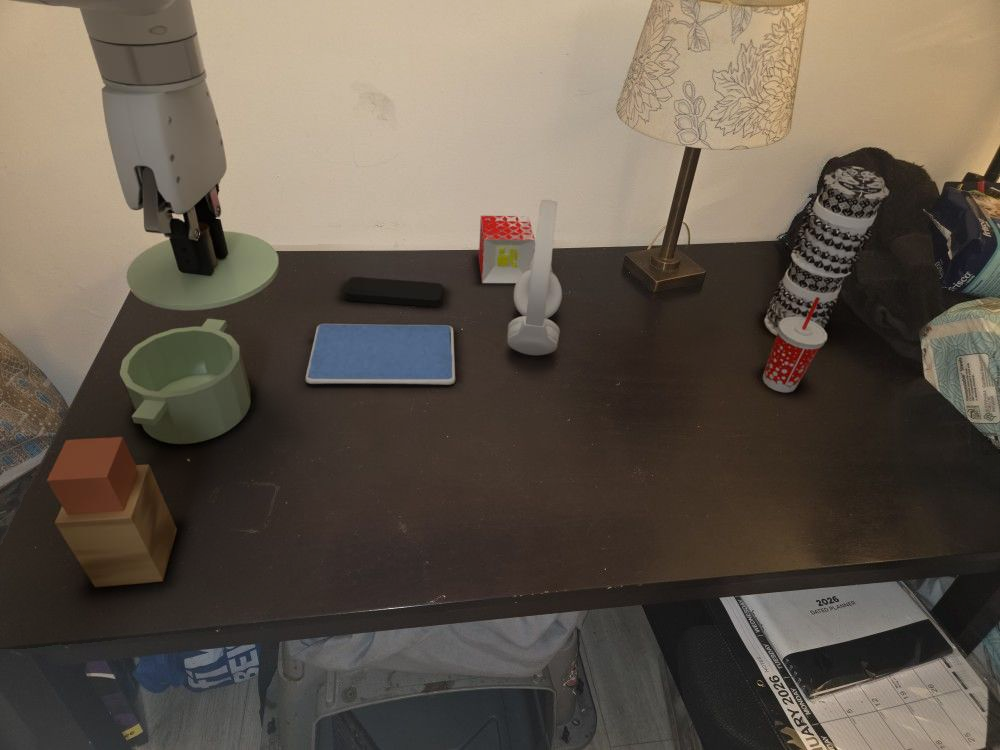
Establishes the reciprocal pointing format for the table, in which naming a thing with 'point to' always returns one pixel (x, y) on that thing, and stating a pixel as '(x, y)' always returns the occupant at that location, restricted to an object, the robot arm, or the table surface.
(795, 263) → the white patterned cylinder
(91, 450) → the block
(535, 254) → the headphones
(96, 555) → the block
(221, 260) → the lid
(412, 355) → the tablet
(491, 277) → the red and white cube
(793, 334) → the beverage cup
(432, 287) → the remote control
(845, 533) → the table surface
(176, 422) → the light green round pot
